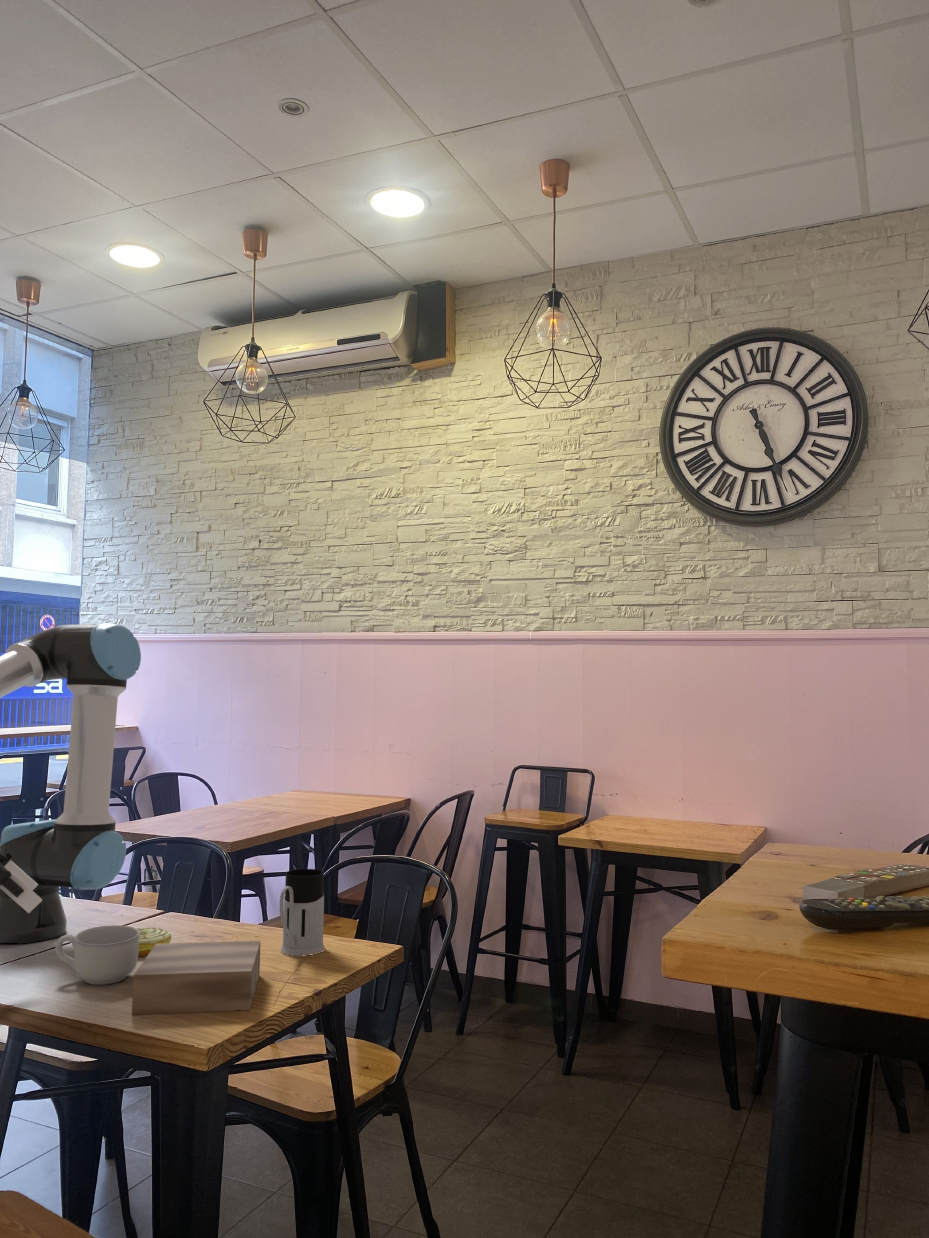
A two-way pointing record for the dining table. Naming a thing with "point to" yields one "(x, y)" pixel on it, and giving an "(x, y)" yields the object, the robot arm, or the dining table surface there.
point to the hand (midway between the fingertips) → (33, 898)
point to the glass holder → (302, 912)
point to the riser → (197, 977)
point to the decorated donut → (151, 939)
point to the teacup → (102, 953)
